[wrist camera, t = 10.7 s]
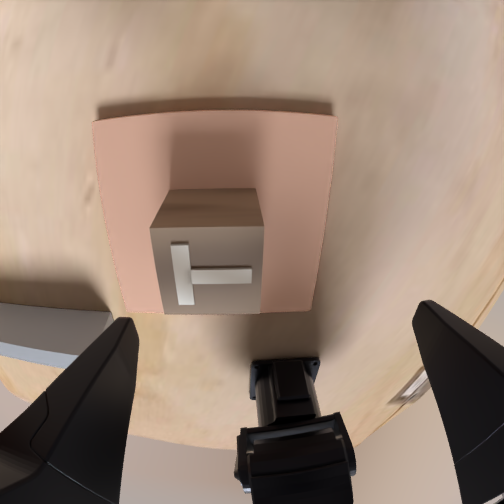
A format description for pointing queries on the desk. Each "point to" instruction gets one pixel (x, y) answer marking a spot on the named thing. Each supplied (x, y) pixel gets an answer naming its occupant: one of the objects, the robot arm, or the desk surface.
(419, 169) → the desk surface
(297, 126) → the mat
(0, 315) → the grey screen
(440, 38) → the desk surface
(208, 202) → the walnut cube
